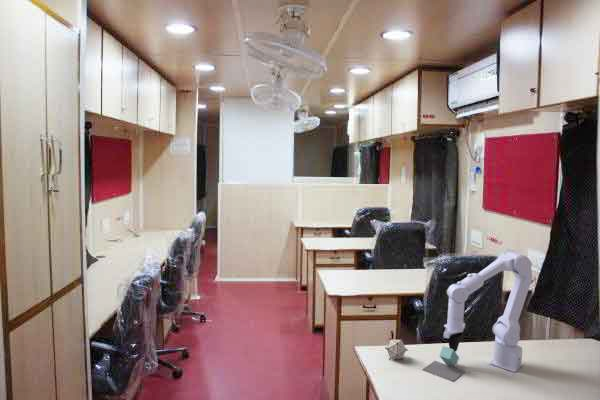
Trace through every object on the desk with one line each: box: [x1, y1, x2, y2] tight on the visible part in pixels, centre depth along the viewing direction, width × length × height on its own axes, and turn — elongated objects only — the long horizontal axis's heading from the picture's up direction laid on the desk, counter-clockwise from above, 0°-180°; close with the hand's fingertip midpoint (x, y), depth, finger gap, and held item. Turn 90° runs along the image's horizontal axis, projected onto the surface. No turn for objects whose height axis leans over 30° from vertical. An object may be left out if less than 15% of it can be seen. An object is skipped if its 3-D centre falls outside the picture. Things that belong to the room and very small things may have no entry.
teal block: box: [439, 345, 460, 368], centre depth 172 cm, size 4×4×8 cm
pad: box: [422, 360, 466, 382], centre depth 169 cm, size 12×10×1 cm
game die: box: [384, 337, 409, 362], centre depth 178 cm, size 9×8×10 cm
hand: (453, 350), depth 174 cm, fingers closed
